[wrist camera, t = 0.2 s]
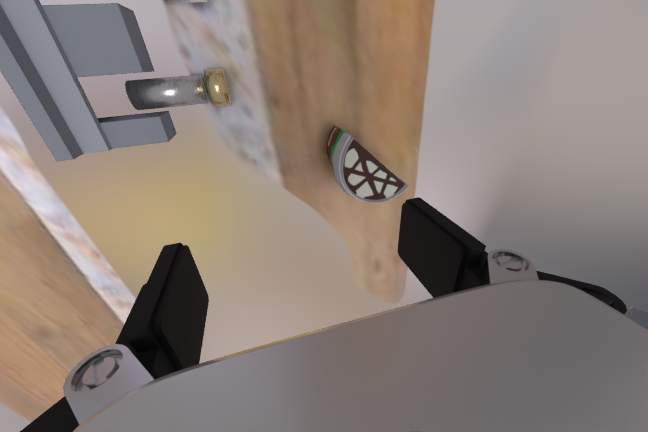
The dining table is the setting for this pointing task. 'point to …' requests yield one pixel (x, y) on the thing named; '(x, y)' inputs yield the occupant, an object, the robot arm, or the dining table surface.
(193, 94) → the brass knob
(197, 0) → the light grey capped cylinder
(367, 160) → the food container
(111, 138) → the mount
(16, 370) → the dining table surface
